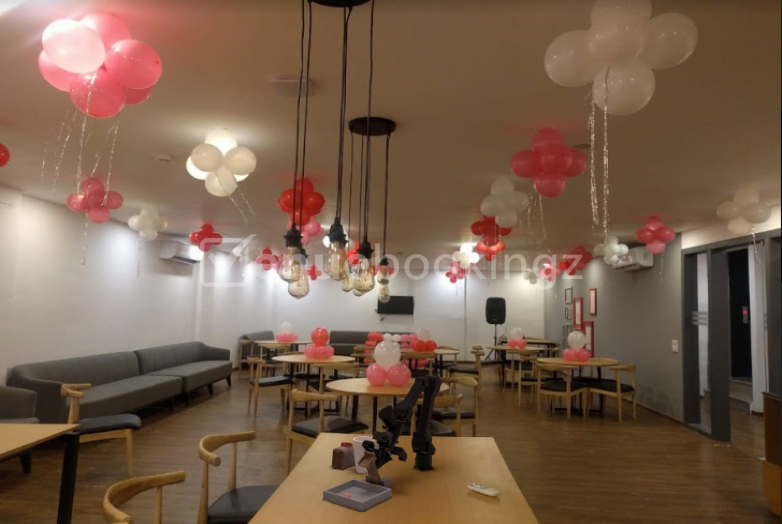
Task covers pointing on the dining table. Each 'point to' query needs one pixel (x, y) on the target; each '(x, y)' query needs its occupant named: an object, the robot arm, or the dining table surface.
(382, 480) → the lever stand
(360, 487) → the tray
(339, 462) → the food item
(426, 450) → the robot arm
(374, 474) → the lever
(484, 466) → the dining table surface
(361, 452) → the foam cup
